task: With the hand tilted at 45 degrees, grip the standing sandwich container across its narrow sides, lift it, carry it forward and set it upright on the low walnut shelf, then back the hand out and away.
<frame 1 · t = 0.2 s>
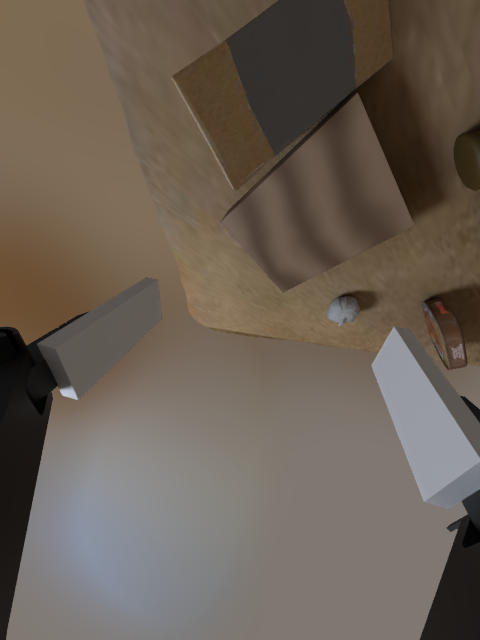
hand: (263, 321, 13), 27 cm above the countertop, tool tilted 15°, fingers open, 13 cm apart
sandwich container: (304, 69, 24), on the countertop
tin: (435, 317, 42), on the countertop
walnut shelf: (309, 211, 34), on the countertop
garlic: (342, 301, 44), on the countertop
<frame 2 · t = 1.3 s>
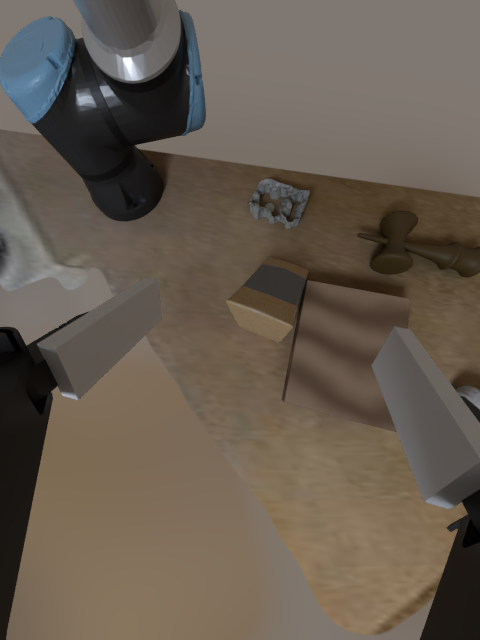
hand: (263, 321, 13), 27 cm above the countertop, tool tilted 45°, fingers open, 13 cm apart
sandwich container: (274, 297, 42), on the countertop
walnut shelf: (339, 351, 38), on the countertop
kendama: (405, 257, 42), on the countertop
garlic: (459, 404, 35), on the countertop
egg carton: (277, 211, 46), on the countertop
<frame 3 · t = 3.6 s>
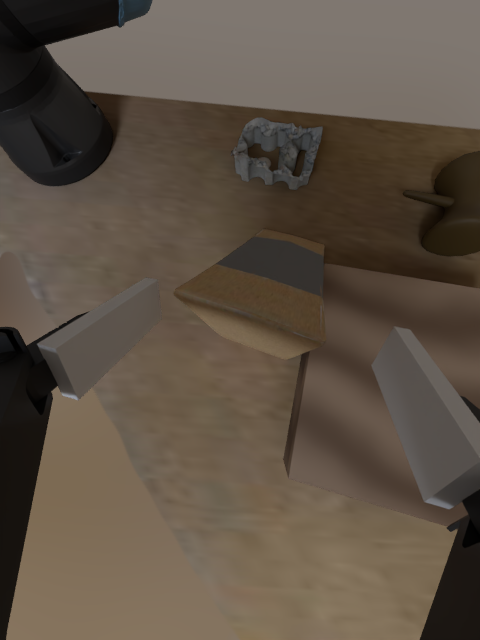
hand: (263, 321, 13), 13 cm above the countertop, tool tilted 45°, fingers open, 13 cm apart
sandwich container: (274, 289, 27), on the countertop
walnut shelf: (376, 379, 24), on the countertop
kendama: (473, 230, 27), on the countertop
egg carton: (274, 167, 32), on the countertop
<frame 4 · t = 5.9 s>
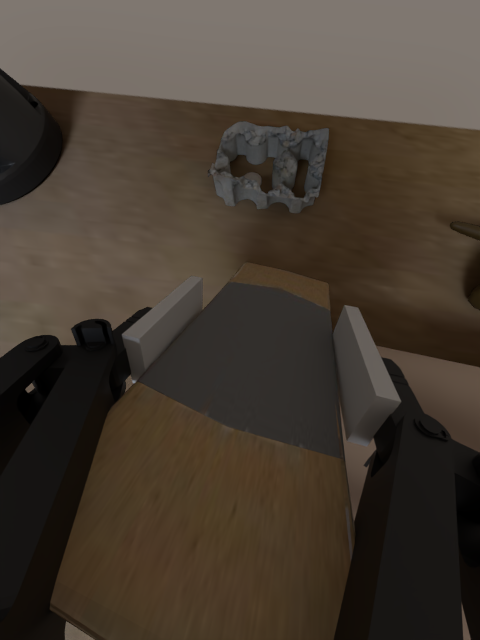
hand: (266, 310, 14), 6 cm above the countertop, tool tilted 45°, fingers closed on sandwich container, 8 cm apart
sandwich container: (262, 348, 20), on the countertop, touching gripper
walnut shelf: (411, 504, 16), on the countertop
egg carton: (267, 184, 24), on the countertop
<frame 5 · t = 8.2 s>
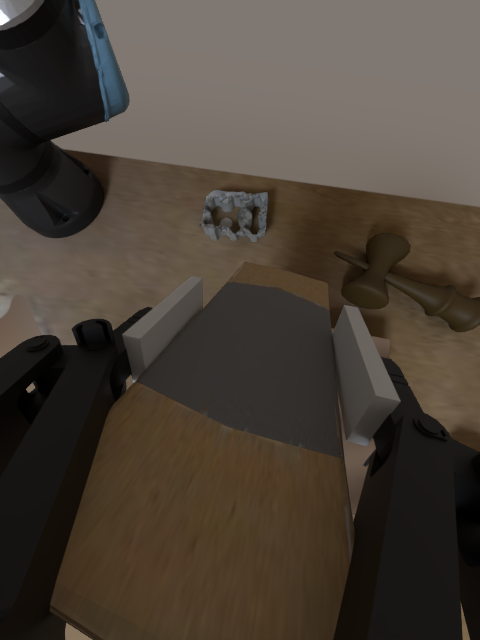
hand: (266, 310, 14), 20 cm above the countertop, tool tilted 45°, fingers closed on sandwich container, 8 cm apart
sandwich container: (262, 348, 20), point 13 cm above the countertop, touching gripper
walnut shelf: (306, 401, 31), on the countertop
kendama: (388, 290, 34), on the countertop
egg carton: (236, 224, 39), on the countertop
when the fingers open (12 cm above the countertop, at t = 10.8 s): sandwich container drops 1 cm, resting on walnut shelf.
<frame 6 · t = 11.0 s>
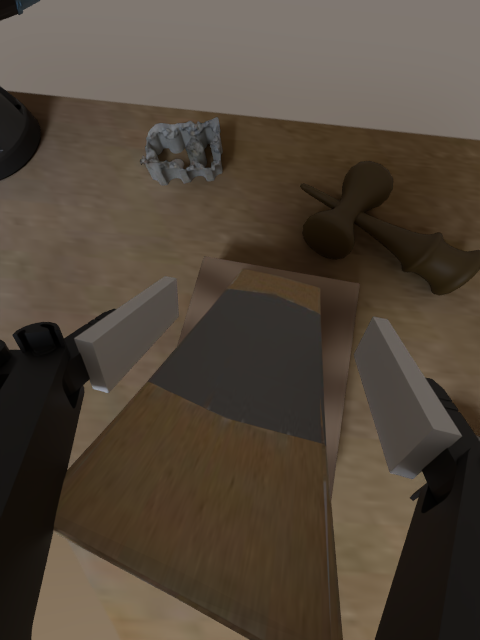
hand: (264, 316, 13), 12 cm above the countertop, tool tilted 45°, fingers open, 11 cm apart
sandwich container: (259, 349, 21), point 4 cm above the countertop, touching walnut shelf
walnut shelf: (257, 367, 25), on the countertop
kendama: (363, 243, 28), on the countertop
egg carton: (188, 165, 33), on the countertop
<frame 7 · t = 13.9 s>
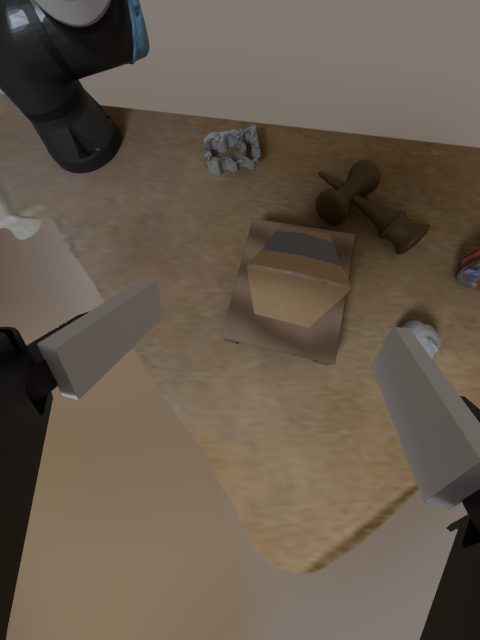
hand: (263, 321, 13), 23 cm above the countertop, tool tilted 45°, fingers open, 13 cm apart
sandwich container: (293, 273, 34), point 4 cm above the countertop, touching walnut shelf
walnut shelf: (286, 294, 37), on the countertop
kendama: (357, 217, 40), on the countertop
garlic: (405, 343, 34), on the countertop
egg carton: (232, 160, 45), on the countertop
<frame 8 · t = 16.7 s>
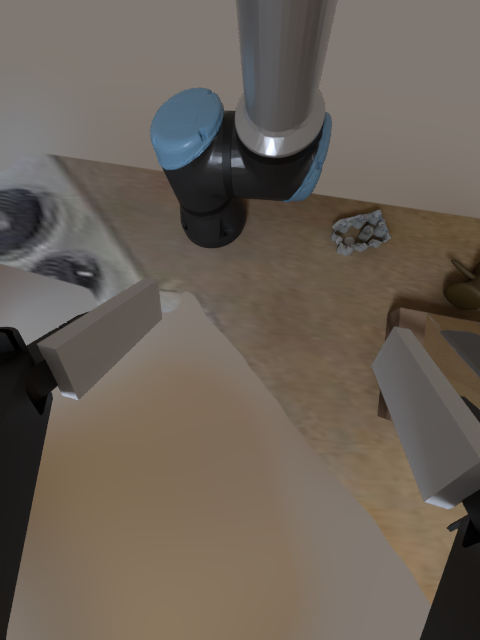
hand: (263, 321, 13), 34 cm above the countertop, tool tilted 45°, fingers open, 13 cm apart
sandwich container: (448, 359, 39), point 4 cm above the countertop, touching walnut shelf
walnut shelf: (427, 372, 42), on the countertop
kendama: (479, 302, 45), on the countertop
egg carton: (355, 239, 50), on the countertop
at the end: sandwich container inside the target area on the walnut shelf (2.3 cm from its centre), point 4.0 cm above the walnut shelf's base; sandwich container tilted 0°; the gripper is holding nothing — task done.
